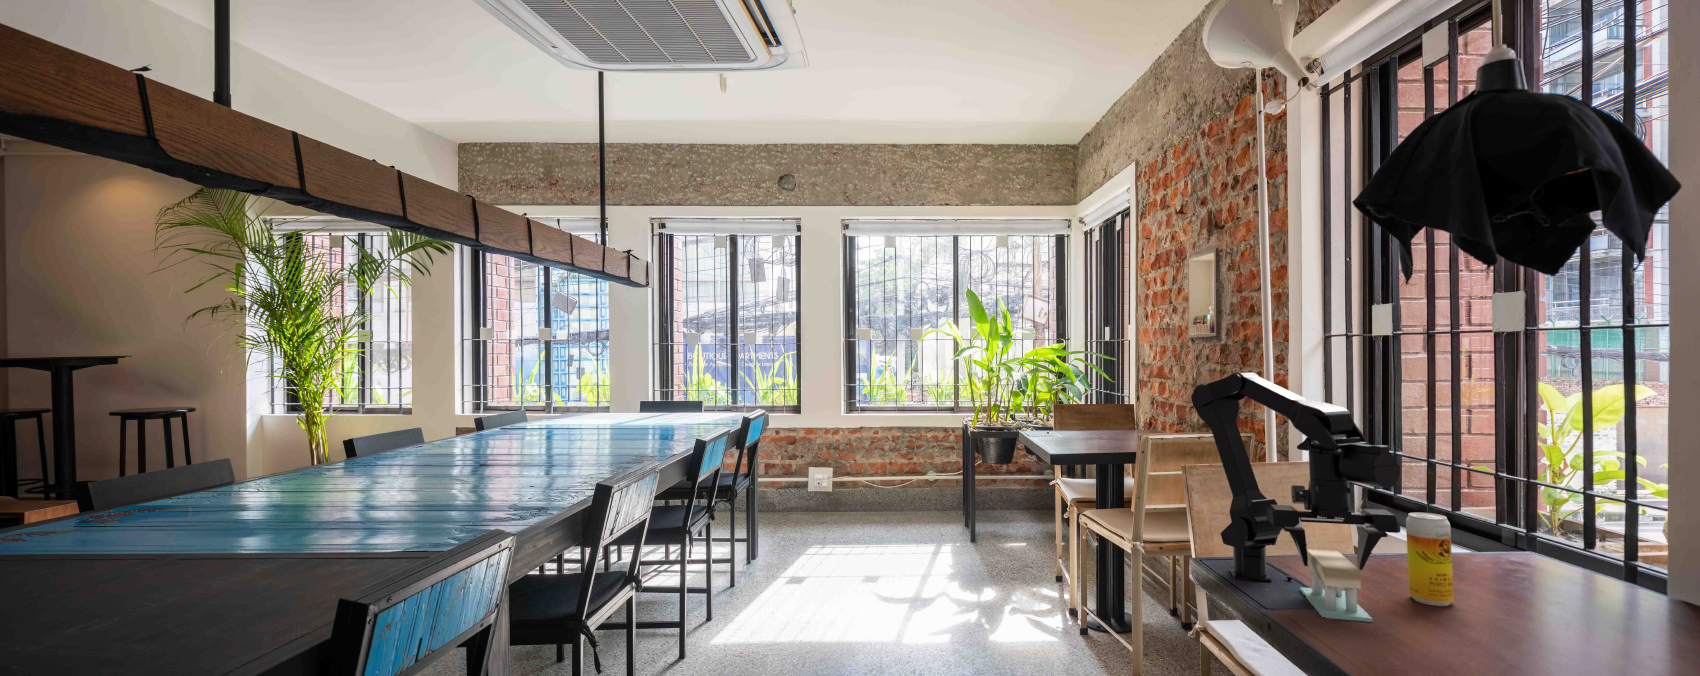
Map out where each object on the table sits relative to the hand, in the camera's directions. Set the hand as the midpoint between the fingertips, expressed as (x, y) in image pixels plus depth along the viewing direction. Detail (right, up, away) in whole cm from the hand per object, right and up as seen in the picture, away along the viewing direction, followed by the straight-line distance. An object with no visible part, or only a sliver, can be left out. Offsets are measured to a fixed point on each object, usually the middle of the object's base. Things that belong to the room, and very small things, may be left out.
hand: (1332, 567), depth 123 cm
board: (0, -2, 0) cm, 2 cm away
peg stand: (0, -7, 0) cm, 7 cm away
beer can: (+18, -6, +1) cm, 19 cm away
